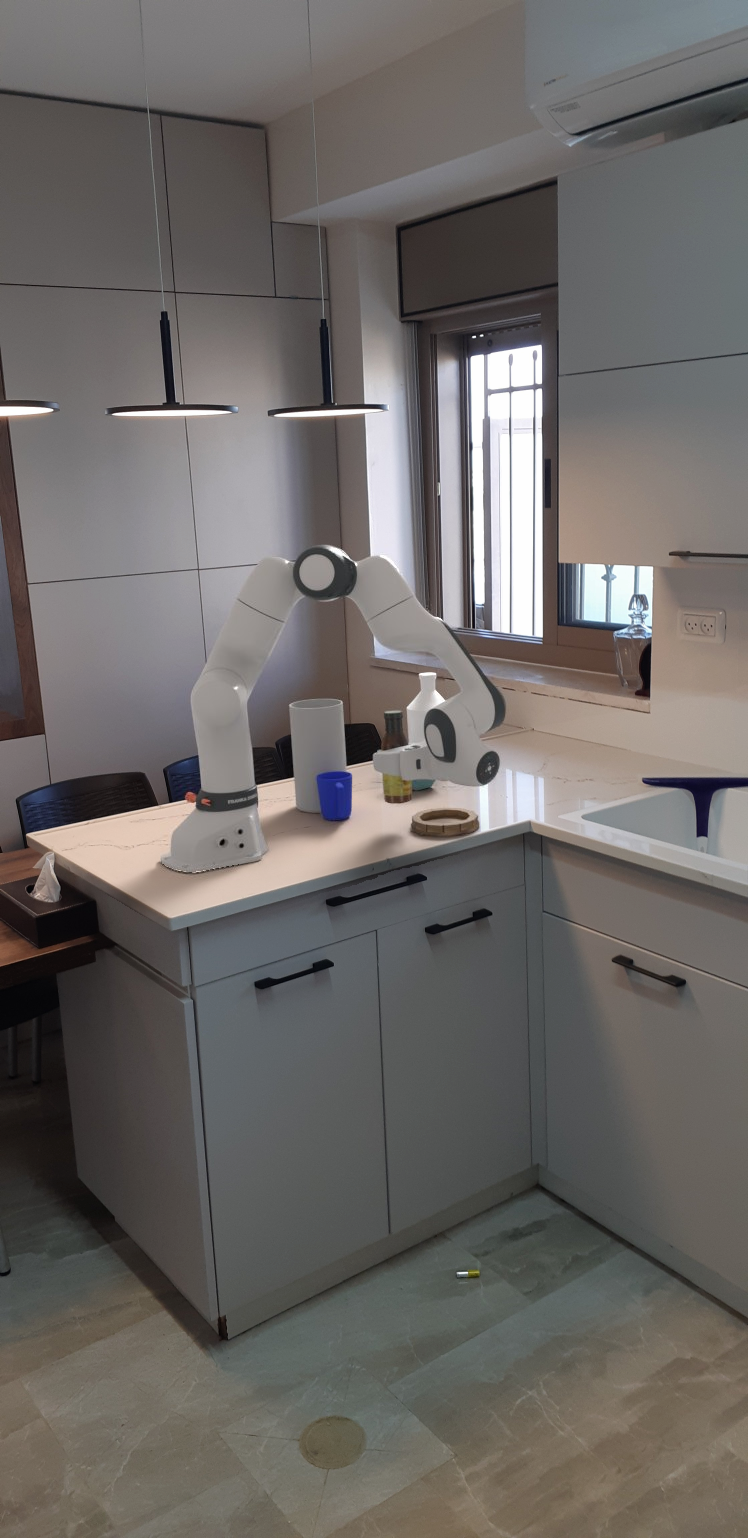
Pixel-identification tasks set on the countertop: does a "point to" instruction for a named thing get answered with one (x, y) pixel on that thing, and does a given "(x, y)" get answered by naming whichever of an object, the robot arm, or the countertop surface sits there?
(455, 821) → the tray
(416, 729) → the bottle
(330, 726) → the cylinder vase
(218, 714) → the robot arm
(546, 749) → the countertop surface
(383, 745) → the sauce bottle
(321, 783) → the mug
